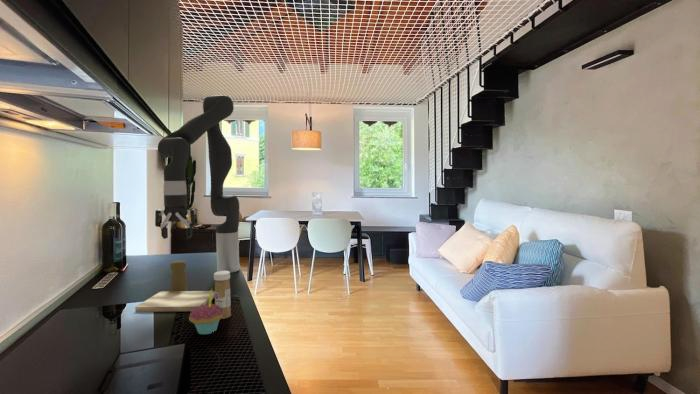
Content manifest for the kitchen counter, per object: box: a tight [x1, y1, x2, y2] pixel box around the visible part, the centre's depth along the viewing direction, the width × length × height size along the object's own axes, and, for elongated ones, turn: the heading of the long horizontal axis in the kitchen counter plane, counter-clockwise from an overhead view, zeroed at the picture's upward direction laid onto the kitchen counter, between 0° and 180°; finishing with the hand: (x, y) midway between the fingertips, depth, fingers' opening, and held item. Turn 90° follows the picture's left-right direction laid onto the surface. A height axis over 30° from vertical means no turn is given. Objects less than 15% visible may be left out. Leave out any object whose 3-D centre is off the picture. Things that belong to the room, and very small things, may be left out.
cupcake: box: [188, 288, 223, 335], centre depth 99 cm, size 9×8×12 cm
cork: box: [169, 259, 189, 291], centre depth 135 cm, size 6×6×11 cm
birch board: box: [134, 290, 215, 313], centre depth 122 cm, size 15×20×2 cm
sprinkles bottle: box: [213, 271, 232, 320], centre depth 109 cm, size 5×5×13 cm
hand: (177, 238), depth 134 cm, fingers open, 8 cm apart
